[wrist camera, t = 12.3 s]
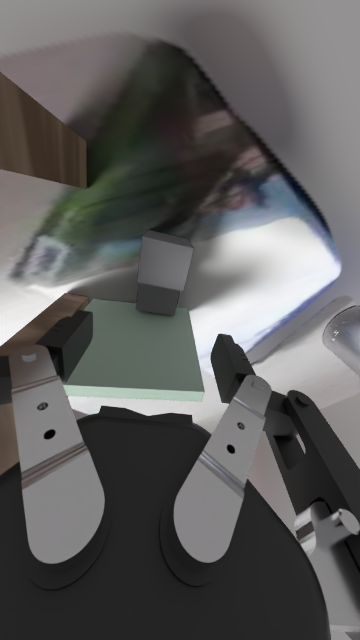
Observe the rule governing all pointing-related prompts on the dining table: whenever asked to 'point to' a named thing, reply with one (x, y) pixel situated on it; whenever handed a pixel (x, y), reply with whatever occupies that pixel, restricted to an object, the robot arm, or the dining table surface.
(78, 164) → the wall frame
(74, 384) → the door
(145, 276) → the grey stepped block
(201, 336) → the dining table surface
